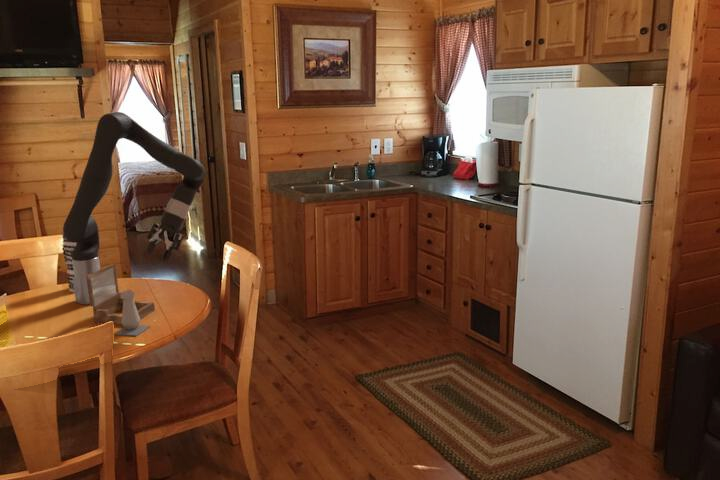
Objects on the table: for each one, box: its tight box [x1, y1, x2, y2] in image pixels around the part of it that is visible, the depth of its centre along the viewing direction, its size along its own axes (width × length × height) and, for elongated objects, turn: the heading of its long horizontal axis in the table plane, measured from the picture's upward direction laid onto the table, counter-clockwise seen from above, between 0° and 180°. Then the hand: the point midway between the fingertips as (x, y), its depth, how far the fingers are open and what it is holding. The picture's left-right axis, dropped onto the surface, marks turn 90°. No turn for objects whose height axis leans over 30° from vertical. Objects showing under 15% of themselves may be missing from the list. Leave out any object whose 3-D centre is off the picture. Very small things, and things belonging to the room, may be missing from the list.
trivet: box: [114, 324, 151, 338], centre depth 203 cm, size 8×8×1 cm
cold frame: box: [86, 263, 156, 326], centre depth 214 cm, size 15×15×17 cm
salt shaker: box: [120, 289, 141, 330], centre depth 203 cm, size 6×6×13 cm
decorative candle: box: [61, 232, 76, 293], centre depth 244 cm, size 9×9×25 cm
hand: (156, 256), depth 211 cm, fingers open, 8 cm apart
